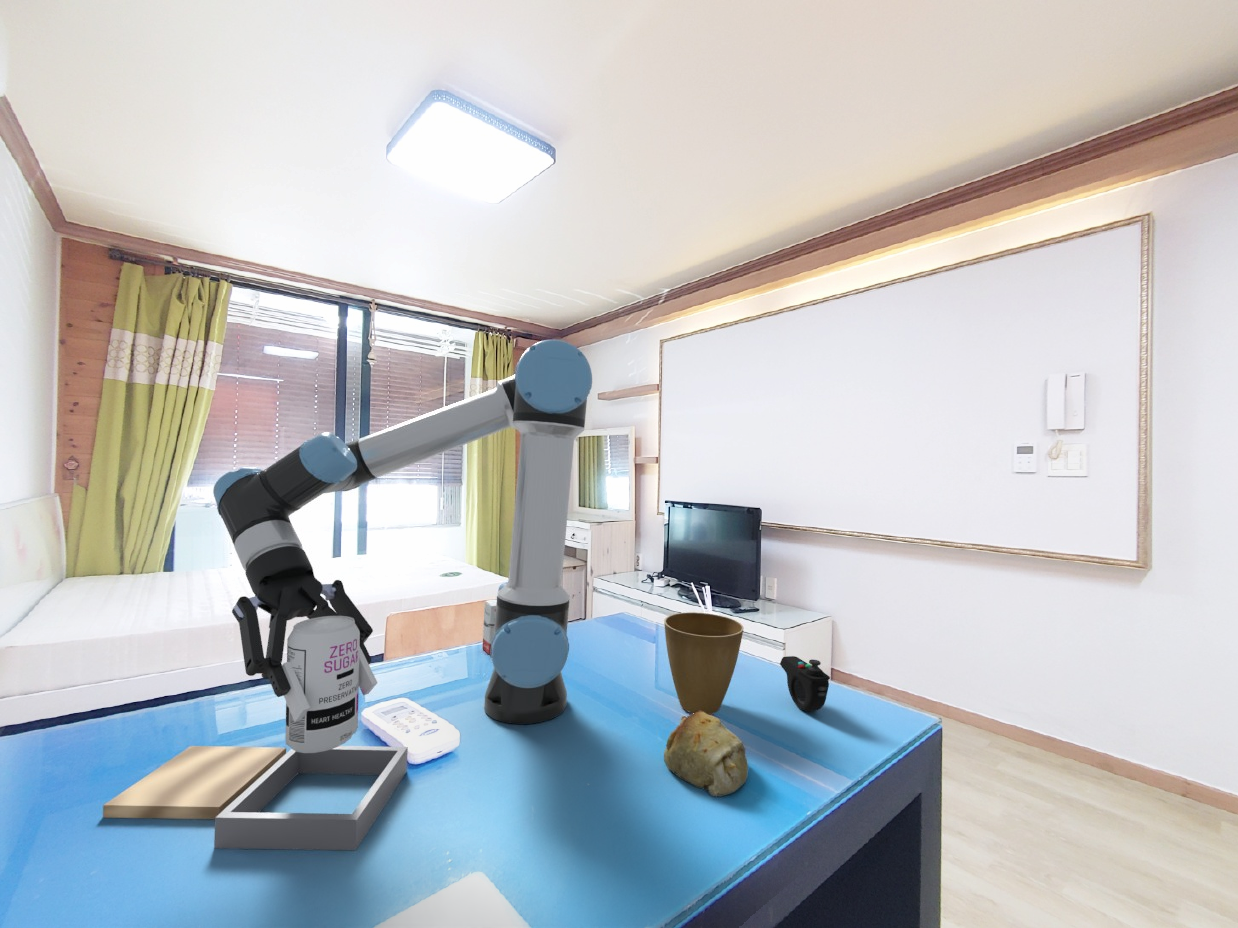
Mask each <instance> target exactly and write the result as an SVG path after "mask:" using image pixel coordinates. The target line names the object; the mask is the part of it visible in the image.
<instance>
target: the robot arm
mask: <svg viewBox="0 0 1238 928" xmlns="http://www.w3.org/2000/svg"><path fill="white" fill-rule="evenodd" d="M514 370H515V371H514V374H513V375H512V376H508V377H506V378H503V379H501V380H499V381H498V382H497V383H496V387H494V388H493V389H491V390H488V391H485V392H483V393H480V394H477V395H474V396H472V397H469V398H467V399H464V400H461V401H458V402H456V403H452V404H449V405H448V406H445V407H442V408H439V409H436V410H434V411H431V412H428V413H425V414H423V415H420V416H417V417H415V418H412V419H409V420H407V421H406V420H405V421H404V422H401V423H398V424H396V425H393V426H390V427H387V428H385V429H383V430H380V431H376V432H374V433H372V434H368V435H366V436H363V437H360V438H358V439H356V440H353V441H349V442H347V443H345V442H344V441H343V440H342V438H340V437H339V436H336V435H335V434H334V433H333V432H329V431H326V432H322V433H319V434H318V435H317V436H314V437H313V438H311V439H308V440H305V441H304V442H303V443H302V444H301V445H300V446H299V447H297V448H295V449H294V450H293V451H291V452H289V453H288V454H286V455H284V456H283V457H282V458H280V459H279V460H277V461H276V462H275V463H272V465H270V466H268V467H267V468H265V469H264V470H263V469H261V468H259V467H253V466H250V467H248V466H247V467H240V468H239V469H238V470H235V471H232V470H230V471H228V472H225V474H223V475H222V476H221V477H219V478H218V479H217V481H216V482H215V483H214V486H213V490H212V491H213V492H212V493H213V497H214V499H215V503H216V510H217V513H218V514H219V516H220V517H221V519H222V521H223V522H224V525H225V528H226V530H227V533H228V534H229V537H230V539H231V541H232V544H233V547H234V549H235V552H236V554H237V557H238V559H239V561H240V564H241V566H242V568H243V570H244V572H245V576H246V579H247V581H248V583H249V585H250V588H251V591H252V593H253V594H254V596H252V597H247V596H240V597H239V598H238V600H237V602H236V603H235V605H234V607H233V608H232V610H231V613H232V615H233V616H234V618H235V619H236V621H237V623H238V625H239V633H240V639H241V648H242V655H243V661H244V669H245V670H244V671H245V673H246V675H247V676H250V677H252V676H253V677H254V676H256V675H257V674H261V678H262V679H264V680H269V682H270V685H271V688H272V691H273V693H274V695H275V696H276V697H278V698H280V697H283V698H284V700H285V703H286V702H287V705H288V707H289V710H290V712H291V715H292V717H293V719H294V722H296V721H299V720H301V719H302V718H303V716H304V715H305V714H306V712H307V711H308V710H309V709H310V707H309V704H308V702H307V699H306V697H305V695H304V692H303V690H302V688H301V685H300V683H299V681H298V678H297V676H296V674H295V671H294V669H293V667H292V664H291V662H290V661H289V662H287V661H286V662H283V656H284V647H285V641H286V640H285V639H286V633H287V632H286V630H287V624H288V623H287V621H290V620H293V619H295V618H305V617H306V618H307V620H308V619H312V618H318V617H325V616H347V617H351V618H353V619H354V620H355V624H356V626H357V628H358V629H359V631H360V647H359V689H360V691H361V694H362V695H363V696H366V695H368V694H370V693H371V691H372V690H374V688H375V686H376V685H377V684H378V680H377V678H376V677H375V674H374V673H373V670H372V668H371V666H370V664H371V663H372V657H371V656H370V653H369V651H368V649H367V647H366V644H365V643H366V641H367V640H368V639H369V638H370V636H371V635H372V634H373V632H374V630H373V628H372V626H371V625H370V623H368V621H367V620H366V618H365V617H364V615H363V614H362V613H361V611H360V610H359V609H358V607H357V606H356V605H355V603H354V602H353V601H352V600H351V598H350V597H349V595H347V593H346V591H345V587H344V584H343V582H342V580H340V579H336V580H334V581H333V583H325V584H324V583H322V582H320V580H318V579H317V578H316V576H315V574H314V569H313V566H312V564H311V561H310V559H309V557H308V555H307V554H306V551H305V550H304V549H303V544H302V542H301V541H300V538H299V537H298V534H297V531H295V529H294V527H293V525H292V523H291V520H290V516H291V515H292V514H293V513H295V512H298V511H299V510H300V509H302V508H303V507H305V506H306V505H308V504H309V503H311V502H312V501H313V500H315V499H317V498H318V497H321V495H324V494H329V493H334V492H335V493H337V492H348V491H352V490H354V489H357V488H359V487H360V486H361V485H363V484H366V483H368V482H370V481H374V480H375V479H378V478H381V477H383V476H386V475H388V474H391V473H393V472H396V471H399V470H401V469H404V468H406V467H409V466H411V465H414V464H415V465H416V464H417V463H420V462H422V461H426V460H428V459H431V458H433V457H436V456H438V455H441V454H443V453H446V452H449V451H451V450H454V449H456V448H459V447H462V446H465V445H467V444H470V443H473V442H476V441H477V440H481V439H483V438H485V437H488V436H491V435H494V434H496V433H497V434H498V433H499V432H501V431H504V430H506V429H510V428H512V429H515V430H517V431H518V432H519V435H520V441H519V442H520V444H519V455H518V463H517V464H518V467H517V478H516V488H515V489H516V490H515V500H514V509H513V510H514V512H513V520H512V521H513V523H512V531H511V532H512V533H511V545H510V557H509V567H508V579H507V582H503V583H501V584H500V585H499V586H498V591H497V595H496V599H497V604H496V614H495V626H494V636H493V641H492V643H491V649H490V653H491V655H490V658H491V661H492V664H493V667H494V668H493V671H492V674H491V676H490V680H489V682H488V685H487V688H486V691H485V694H484V703H483V704H484V705H483V707H484V708H483V709H484V712H485V714H486V715H488V716H489V717H490V718H491V719H494V720H496V721H498V722H502V723H507V724H516V725H517V724H518V725H526V724H527V725H529V724H536V723H541V722H542V723H543V722H546V721H549V720H551V719H554V718H556V717H557V716H560V715H561V714H562V713H564V712H565V710H566V708H567V701H568V700H567V699H568V694H567V693H568V692H567V688H566V685H565V682H564V678H563V675H562V671H563V669H564V667H565V665H566V664H567V660H568V657H569V656H568V655H569V652H570V643H569V638H568V624H569V623H568V622H569V611H570V599H571V598H570V597H571V596H570V594H569V593H568V592H567V591H566V589H564V587H563V585H562V581H563V571H564V569H563V568H564V560H565V558H564V557H565V547H566V536H567V524H568V523H567V522H568V515H569V514H568V512H569V501H570V489H571V479H572V478H571V477H572V469H573V457H574V456H573V455H574V445H575V444H574V443H575V439H576V438H577V437H578V436H579V435H581V434H582V433H583V432H584V431H585V425H586V424H585V423H586V416H587V415H586V414H587V403H588V402H587V401H588V397H589V395H590V392H591V389H592V387H593V386H592V385H593V373H592V368H591V364H590V363H589V361H588V359H587V357H586V356H585V354H583V352H582V351H581V350H580V349H579V348H578V347H576V345H574V344H572V343H569V342H567V341H564V340H561V339H545V340H541V341H538V342H536V343H534V344H532V345H531V346H530V347H528V348H526V350H525V351H524V353H522V354H521V356H520V358H519V359H518V360H517V364H516V365H515V369H514ZM322 595H323V596H324V597H325V598H324V597H323V596H322ZM329 603H330V605H329ZM331 607H332V608H331ZM258 609H261V610H263V611H264V612H266V613H268V614H269V615H270V618H269V625H268V628H269V632H268V639H267V646H266V652H265V656H264V647H263V642H262V636H261V629H260V623H259V617H258V613H257V611H258ZM282 662H283V664H282Z"/></svg>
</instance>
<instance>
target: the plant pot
mask: <svg viewBox="0 0 1238 928" xmlns="http://www.w3.org/2000/svg"><path fill="white" fill-rule="evenodd" d="M663 621H664V623H663V624H664V633H665V644H666V651H667V656H668V657H667V658H668V663H669V667H670V668H669V669H670V672H671V677H672V680H673V684H674V688H675V693H676V695H677V698H678V702H679V704H680V707H681V708H682V709H683V710H684V711H685V712H688V713H690V714H693V713H696V712H699V711H700V710H701V711H703V712H705V713H706V714H708V715H709V714H710V715H714V714H716V713H717V712H719V711H720V708H721V706H722V704H723V701H724V699H725V696H726V694H727V692H728V689H729V686H730V683H731V682H732V679H733V675H734V672H735V668H736V666H737V661H738V657H739V653H740V648H741V644H742V640H743V639H742V638H743V633H744V626H743V624H742V623H740V622H739V621H737V620H735V619H733V618H731V617H727V616H723V615H720V614H719V615H718V614H713V613H707V612H695V611H691V612H678V613H673V614H670V615H668V616H666V617H665V618H664V620H663Z"/></svg>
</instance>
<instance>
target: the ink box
mask: <svg viewBox="0 0 1238 928" xmlns="http://www.w3.org/2000/svg"><path fill="white" fill-rule="evenodd" d="M496 604H497V598H496V599H495V598H494V599H489V600H488V599H487V600H486V601H485V600H484V608H483V609H484V610H483V629H482V650H484V652H486V654H488V655H489V656H491V653H490V649H491V643H492V641H493V636H494V626H495V614H496Z"/></svg>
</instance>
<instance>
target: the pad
mask: <svg viewBox="0 0 1238 928" xmlns="http://www.w3.org/2000/svg"><path fill="white" fill-rule="evenodd" d="M286 753H287V747H279V746H278V747H270V746H266V747H265V746H259V747H258V746H225V745H223V746H222V745H221V746H218V745H217V746H216V745H215V746H212V745H211V746H210V745H209V746H208V745H190V746H188V747H186V748H185V749H184V750H183V751H181V752H180V753H179V754H177V755H175V756H174V757H171V759H169V760H168V761H167V762H165V763H163V764H162V765H160V766H159V767H157V768H156V769H155V770H152V772H150V773H148V775H145V776H144V777H143V778H141V779H140V780H138V781H136V782H135V783H134V784H132V785H131V786H129V787H128V788H126V789H125V790H123V791H122V792H121V793H119V794H118V795H115V797H113V798H111V799H110V800H109V801H107V802H106V803H105V804H103V805H102V818H108V819H109V818H112V819H113V818H114V819H116V818H118V819H122V818H123V819H124V818H125V819H178V820H179V819H183V820H184V819H185V820H187V819H188V820H190V819H191V820H197V819H198V820H215V817H216V816H218V815H219V814H220V813H221V812H222V811H223V810H224V809H225V808H226V807H228V806H229V805H230V804H231V803H232V802H233V801H234V800H235V799H236V798H238V797H239V796H240V795H241V794H242V793H243V792H244V791H245V790H246V789H247V788H249V787H250V786H251V785H252V784H253V783H254V782H255V781H256V780H257V779H259V778H260V777H261V776H262V775H263V774H264V773H265V772H266V771H267V770H269V769H270V768H271V767H272V766H273V765H274V764H275V763H276V762H277V761H278V760H280V759H281V758H282V757H283V756H284V755H285V754H286Z"/></svg>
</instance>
